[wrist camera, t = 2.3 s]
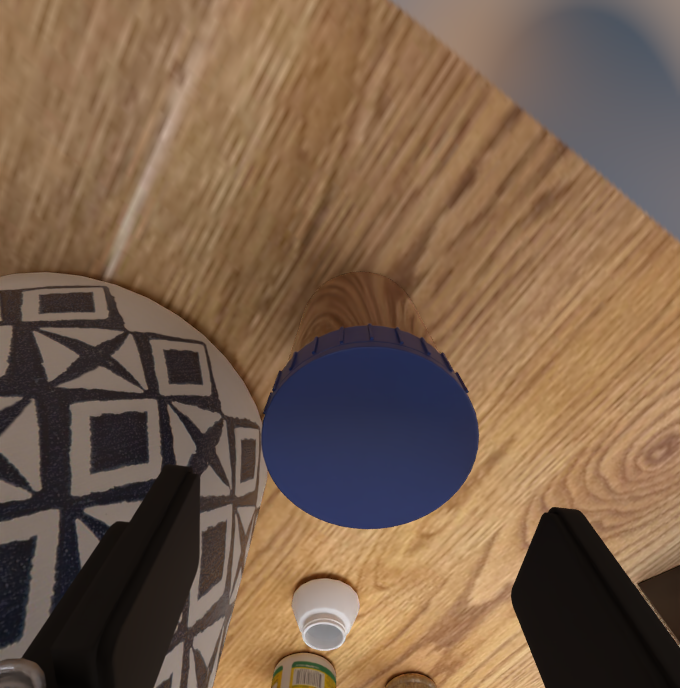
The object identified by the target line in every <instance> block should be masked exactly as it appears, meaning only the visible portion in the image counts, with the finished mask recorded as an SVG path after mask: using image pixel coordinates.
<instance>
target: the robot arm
mask: <svg viewBox="0 0 680 688" xmlns="http://www.w3.org/2000/svg"><path fill="white" fill-rule="evenodd" d="M199 558H200V475H199V474H193V469H192V467H189V466H180V465H171V464H167V465H165V466H164V468H163V469H162V471H161V472H160V474H159V475H158V477H157V479H156V480H155V482H154V483H153V485H152V487H151V488H150V490H149V491H148V493H147V495H146V496H145V498H144V499H143V501H142V503H141V504H140V506H139V507H138V509H137V511H136V512H135V514H134V515H133V517H132V519H131V520H130V522H124V521H116V522H115V523H113V524H112V525H111V526H110V528H109V529H108V530H107V532H106V533H105V534H104V536H103V537H102V539H101V540H100V542H99V543H98V545H97V546H96V548H95V549H94V551H93V552H92V554H91V555H90V557H89V558H88V560H87V561H86V563H85V564H84V566H83V567H82V569H81V570H80V572H79V573H78V575H77V576H76V578H75V579H74V580H73V582H72V583H71V585H70V586H69V588H68V589H67V591H66V592H65V594H64V595H63V597H62V598H61V600H60V601H59V603H58V604H57V606H56V607H55V609H54V610H53V612H52V613H51V615H50V616H49V618H48V619H47V621H46V622H45V624H44V625H43V626H42V628H41V629H40V631H39V632H38V634H37V635H36V637H35V638H34V640H33V641H32V643H31V644H30V646H29V647H28V649H27V650H26V652H25V653H24V655H23V656H22V658H15V659H5V660H2V661H0V688H154V686H155V683H156V681H157V678H158V675H159V672H160V670H161V667H162V664H163V662H164V659H165V656H166V654H167V651H168V648H169V646H170V643H171V640H172V638H173V635H174V632H175V630H176V627H177V624H178V622H179V619H180V616H181V613H182V611H183V608H184V605H185V603H186V600H187V597H188V595H189V592H190V589H191V587H192V584H193V581H194V579H195V576H196V573H197V569H198V565H199ZM511 600H512V605H513V608H514V610H515V613H516V615H517V618H518V620H519V623H520V625H521V628H522V630H523V633H524V635H525V638H526V640H527V643H528V645H529V648H530V650H531V653H532V655H533V658H534V660H535V663H536V665H537V668H538V670H539V673H540V675H541V678H542V680H543V683H544V685H545V688H680V648H679V646H678V645H677V644H676V642H675V641H674V639H673V638H672V637H671V635H670V634H669V632H668V631H667V630H666V628H665V627H664V625H663V624H662V623H661V621H660V620H659V619H658V617H657V616H656V614H655V613H654V612H653V610H652V609H651V607H650V606H649V605H648V603H647V602H646V601H645V599H644V598H643V596H642V595H641V594H640V592H639V591H638V589H637V588H636V587H635V585H634V584H633V583H632V581H631V580H630V578H629V577H628V576H627V574H626V573H625V571H624V570H623V569H622V567H621V566H620V564H619V563H618V562H617V560H616V559H615V558H614V556H613V555H612V553H611V552H610V551H609V549H608V548H607V546H606V545H605V544H604V542H603V541H602V540H601V538H600V537H599V535H598V534H597V533H596V531H595V530H594V528H593V527H592V526H591V524H590V523H589V521H588V520H587V519H586V517H585V516H584V515H583V514H582V513H581V511H579V510H576V509H567V508H558V507H552V508H551V509H550V510H549V512H548V513H544V514H543V515H542V517H541V519H540V522H539V524H538V527H537V529H536V531H535V534H534V536H533V539H532V541H531V544H530V546H529V549H528V551H527V553H526V556H525V558H524V561H523V563H522V566H521V568H520V571H519V573H518V575H517V578H516V580H515V583H514V585H513V588H512V591H511Z"/></svg>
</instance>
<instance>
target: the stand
mask: <svg viewBox="0 0 680 688" xmlns="http://www.w3.org/2000/svg"><path fill="white" fill-rule="evenodd" d="M638 586H639V587H640V589H641V590H642V591H643V593H644V594H645V596H646V597H647V599H648V600H649V601H650V603H651V604H652V606H653V607H654V609H655V610H656V612H657V613H658V614H659V616H660V617H661V619H662V620H663V622H664V623H665V624H666V626H667V627H668V629H669V630H670V632H671V633H672V634H673V636H674V637H675V639H676V640H677V642H678V643H679V644H680V566H679V567H677V568H674V569H672V570H670V571H667V572H665V573H663V574H660V575H658V576H656V577H653V578H651V579H649V580H647V581H644V582H642V583H640V584H638Z"/></svg>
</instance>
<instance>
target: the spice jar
mask: <svg viewBox="0 0 680 688" xmlns="http://www.w3.org/2000/svg"><path fill="white" fill-rule="evenodd" d="M386 688H436V685H435V683H434V682H433V681H432V680H431V679H429V678H428V677H426V676H424V675H420V674H416V673H411V674H402V675H400V676H398V677H395V678H394V679H392V680H391V681H390V682H389V683H388V684H387V685H386Z"/></svg>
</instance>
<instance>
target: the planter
mask: <svg viewBox="0 0 680 688" xmlns="http://www.w3.org/2000/svg"><path fill="white" fill-rule="evenodd" d="M261 432H262V422H261V419H260V415H259V412H258V409H257V406H256V404H255V403H254V401H253V399H252V397H251V395H250V393H249V391H248V389H247V387H246V385H245V383H244V382H243V380H242V379H241V377H240V376H239V375H238V373H237V372H236V371H235V369H234V368H233V367H232V365H231V364H230V362H229V361H228V360H227V358H226V357H225V356H224V355H223V354H222V353H221V352H220V351H219V350H218V349H217V348H216V347H215V346H214V345H213V344H212V343H211V342H210V341H209V340H208V339H207V338H206V337H205V336H204V335H203V334H202V333H200V332H199V331H198V330H196V329H195V328H194V327H193V326H191V325H190V324H189V323H187V322H186V321H185V320H183V319H182V318H181V317H180V316H178V315H177V314H175V313H173V312H171V311H170V310H168V309H166V308H165V307H163V306H161V305H159V304H158V303H156V302H154V301H152V300H151V299H149V298H147V297H144V296H142V295H140V294H137V293H135V292H132V291H130V290H127V289H125V288H123V287H120V286H118V285H115V284H111V283H107V282H103V281H99V280H96V279H92V278H88V277H84V276H78V275H69V274H60V273H51V272H37V273H15V274H10V275H5V276H1V277H0V661H2V660H5V659H15V658H22V656H23V655H24V653H25V652H26V650H27V649H28V647H29V646H30V644H31V643H32V641H33V640H34V638H35V637H36V635H37V634H38V632H39V631H40V629H41V628H42V626H43V625H44V624H45V622H46V621H47V619H48V618H49V616H50V615H51V613H52V612H53V610H54V609H55V607H56V606H57V604H58V603H59V601H60V600H61V598H62V597H63V595H64V594H65V592H66V591H67V589H68V588H69V586H70V585H71V583H72V582H73V580H74V579H75V578H76V576H77V575H78V573H79V572H80V570H81V569H82V567H83V566H84V564H85V563H86V561H87V560H88V558H89V557H90V555H91V554H92V552H93V551H94V549H95V548H96V546H97V545H98V543H99V542H100V540H101V539H102V537H103V536H104V534H105V533H106V532H107V530H108V529H109V528H110V526H111V525H112V524H113V523H115V522H116V521H124V522H130V520H131V519H132V517H133V515H134V514H135V512H136V511H137V509H138V507H139V506H140V504H141V503H142V501H143V499H144V498H145V496H146V495H147V493H148V491H149V490H150V488H151V487H152V485H153V483H154V482H155V480H156V479H157V477H158V475H159V474H160V472H161V471H162V469H163V468H164V466H165V465H167V464H171V465H180V466H189V467H192V469H193V474H199V475H200V558H199V565H198V569H197V573H196V576H195V579H194V581H193V584H192V587H191V589H190V592H189V595H188V597H187V600H186V603H185V605H184V608H183V611H182V613H181V616H180V619H179V622H178V624H177V627H176V630H175V632H174V635H173V638H172V640H171V643H170V646H169V648H168V651H167V654H166V656H165V659H164V662H163V664H162V667H161V670H160V672H159V675H158V678H157V681H156V683H155V686H154V688H212V687H213V684H214V680H215V676H216V672H217V669H218V665H219V661H220V657H221V654H222V650H223V646H224V642H225V638H226V635H227V631H228V627H229V623H230V619H231V616H232V612H233V608H234V604H235V600H236V597H237V593H238V589H239V585H240V582H241V578H242V574H243V570H244V566H245V563H246V559H247V555H248V551H249V547H250V544H251V540H252V536H253V532H254V528H255V525H256V521H257V517H258V513H259V509H260V505H261V501H262V497H263V493H264V489H265V485H266V481H267V471H268V469H267V467H266V464H265V461H264V457H263V452H262V446H261Z"/></svg>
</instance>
